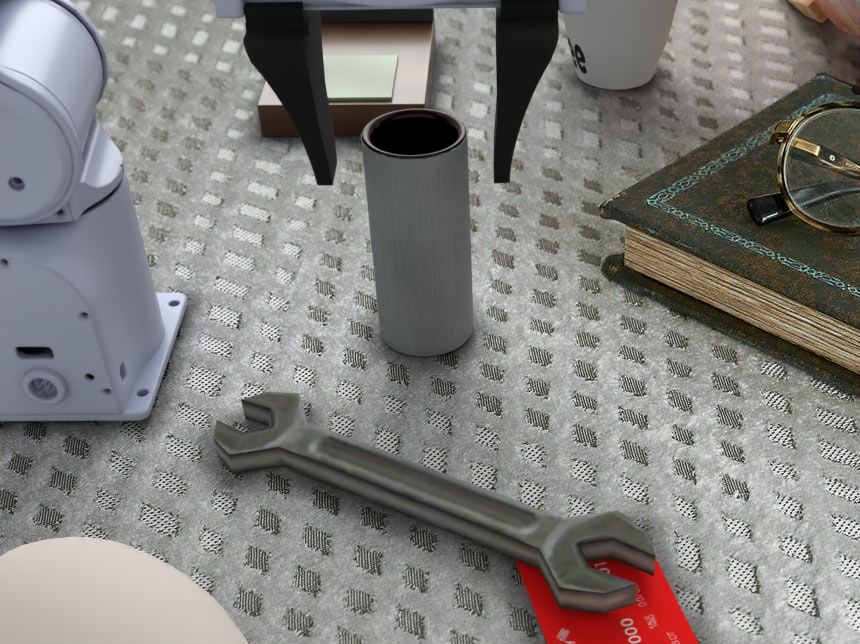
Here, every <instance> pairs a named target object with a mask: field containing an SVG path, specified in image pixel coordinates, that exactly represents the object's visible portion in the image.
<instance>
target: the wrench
mask: <svg viewBox="0 0 860 644" xmlns="http://www.w3.org/2000/svg"><path fill="white" fill-rule="evenodd" d="M240 401H241V406H242V410H243V415H244V416H243V417H244V419H245V420H247V421H250V422H253V423H255V424H260V425H262V426H265V427H262V428H257V429H252V430H247V431H243V430H241V429H238V428H236V427H233V426H232V425H230V424H227V423H226V422H223V421H220V420H218V419H216V420H215V427H214V432H213V437H212V438H213V442H214V447H215V451H216V454H217V458H218V459H219V461H221V463H222V464H223V465H224V466H225V467H226V468H227V469H228V471H230V473H231V474H232V475H233V476H234V475H240V474H241V475H242V474H246V473H253V472H254V473H255V472H261V471H266V470H272V469H273V470H274V469H278V468H284V469H288V470H290V471H293V472H296V473H298V474H300V475H303V476H305V477H308V478H310V479H313V480H315V481H318V482H320V483H323V484H324V485H328V486H330V487H332V488H335V489H337V490H339V491H340V490H341V491H342V492H345V493H347V494H351V495H352V496H356V497H358V498H360V499H363V500H365V501H368V502H371V503H373V504H375V505H378V506H380V507H383V508H385V509H387V510H391V511H393V512H395V513H398V514H400V515H402V516H406V517H408V518H410V519H413V520H415V521H418V522H421V523H423V524H425V525H428V526H430V527H433V528H436V529H438V530H441V531H444V532H446V533H448V534H451V535H453V536H456V537H458V538H461V539H463V540H465V541H468V542H471V543H474V544H475V545H478V546H481V547H483V548H485V549H488V550H491V551H494V552H496V553H498V554H501V555H504V556H505V557H508V558H511V559H513V560H515V559H516V560H518V561H521V562H523V563H526V564H528V565H531V566H533V567H536V568H538V569H540V571H541V573H542V575H543V577H544V579H545V581H546V583H547V585H548V587H549V589H550V591H551V593H552V595H553V597H554V598H555V600H556V602H557V604H558V606H559V608H561V609H569V610H577V611H585V612H593V613H601V614H605V613H608V612H611V611H614V610H617V609H621V608H624V607H627V606H630V605H633V604H635V600H636V586H637V583H634V582H631V581H628V580H625V579H622V578H620V577H617V576H614V575H611V574H608V573H605V572H602V571H599V570H596V569H593V568H591V567H590V565H589V563H588V562H592V561H598V560H603V559H609V558H612V559H615V560H617V561H619V562H622V563H624V564H626V565H629V566H631V567H633V568H636V569H638V570H640V571H642V572H645V573H647V574H649V575H652V576H654V569H655V557H656V553H655V550H654V549H655V548H654V547H653V545H652V544H653V543H652V541H651V538H650V534H649V532H648V531H647V530H646V529H645V528H642V526H640V525H638V524H637V523H636V522H634V521H633V520H631V518H629V517H627V516H626V515H625V514H624V513H622V512H621V511H619V510H611V511H604V512H603V511H602V512H596V513H589V514H583V515H582V514H581V515H575V516H568V517H567V516H566V517H561V516H559V515H557V514H554V513H551V512H549V511H546V510H542V509H541V508H538V507H534V506H532V505H530V504H527V503H524V502H521V501H518V500H516V499H514V498H512V497H508V496H505V495H503V494H500V493H498V492H495V491H492V490H490V489H487V488H485V487H482V486H480V485H477V484H473V483H471V482H469V481H466V480H463V479H461V478H458V477H456V476H453V475H451V474H447V473H444V472H442V471H439V470H436V469H434V468H431V467H429V466H426V465H423V464H421V463H418V462H416V461H413V460H411V459H408V458H405V457H402V456H400V455H397V454H394V453H391V452H389V451H386V450H383V449H381V448H378V447H376V446H373V445H370V444H367V443H365V442H362V441H360V440H356V439H354V438H353V437H349V436H346V435H344V434H341V433H339V432H336V431H333V430H331V429H328V428H325V427H322V426H319V425H317V424H315V423H312V422H309V421H308V420H307V416H306V412H305V408H304V406H303V402H302V399H301V394H300V392H299V393H298V392H297V393H295V392H281V391H265V392H262V393H258V394H254V395H250V396H248V397H245V398H241V399H240Z"/></svg>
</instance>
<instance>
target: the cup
mask: <svg viewBox="0 0 860 644" xmlns="http://www.w3.org/2000/svg"><path fill="white" fill-rule="evenodd" d="M678 3H679V0H587V9H586V13H569V14H566V13H562V14H563V21H564V28H565V35H566V36H565V37H566V40H567V43H568V47H569V50H570V54H571V59H572V61H573V65H574V69H575V72H576V76H577V77H578V78H579V79H580V81H581V82H583V83H585V84H587V85H589V86H592V87H594V88H600V89H604V90H629V89H635V88H638V87H642V86H644V85H646V84H648V83H649V82H650V81H651V80H652V78H653V76H654V75H655V72H656V69H657V67H658V65H659V62H660V59H661V58H662V56H663V52H664V50H665V47H666V45H667V43H668V40H669V37H670V33H671V29H672V25H673V22H674V18H675V14H676V10H677V6H678Z"/></svg>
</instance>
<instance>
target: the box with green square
mask: <svg viewBox="0 0 860 644" xmlns="http://www.w3.org/2000/svg"><path fill="white" fill-rule="evenodd" d="M320 18H321V33H322V48H323V60H324V72H325V83H326V90H327V96H328V101H329V107H330V112H331V118H332V123H333V129H334V134H335V137H343V136H344V137H345V136H350V137H351V136H355V137H356V136H360V137H361V134H362V131H363V129H364V128H365V126H366V125H367V124H368V123H369V122H370V121H372V120H373V119H375V118H377V117H379V116H381V115H383V114H386V113H389V112H393V111H398V110H404V109H430V106H431V104H430V103H431V95H432V86H433V85H432V84H433V75H434V66H435V57H436V46H437V43H436V42H437V41H436V40H437V39H436V22H435V21H436V20H435V9H366V10H320ZM257 112H258V119H259V126H260V131H261V136H262V137H299V135H298V133H297V131H296V129H295V127H294V125H293V123H292V121H291V119H290V117H289V115H288V114H287V112H286V110H285V109H284V107H283V105H282V104H281V102H280V100H279V99H278V97H277V96H276V94H275V93H274V92H273V90H272V89H271V87H270V86H269V84H268V83H267V82H266V80H265V81H264V84H263V87H262V91H261V93H260V96H259V99H258V102H257Z"/></svg>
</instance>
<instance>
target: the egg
mask: <svg viewBox="0 0 860 644" xmlns="http://www.w3.org/2000/svg"><path fill="white" fill-rule="evenodd" d="M0 644H250V643H249V641H248V640H247V638H246V637H245V636H244V634H243V633H242V631H241V630H240V628H239V627H238V626H237V624H236V623H235V622H234V620H233V619H232V617H230V615H229V613H228V612H227V611H226V609H225V608H224V607H223V606H222V605H221V603H220V602H218V601H217V599H215V597H214V596H213V595H212V594H210V593H209V592H208V591H207V590H206V589H204V588H203V587H202V586H200V585H199V584H198V583H197V582H195V581H194V580H193V579H192V578H190V577H189V576H187V575H186V574H185V573H183V572H182V571H180V570H178V569H177V568H175V567H173V566H172V565H170V564H169V563H168V562H165V561H163V560H161V559H160V558H157V557H155V556H154V555H150V554H148V553H146V552H145V551H142V550H140V549H137V548H135V547H133V546H131V545H129V544H125V543H122V542H118V541H114V540H110V539H106V538H105V539H104V538H96V537H88V536H87V537H86V536H65V537H57V538H46V539H41V540H38V541H33V542H30V543H25V544H22V545H18V546H17V547H15V548H13V549H11V550H9V551H7V552H5V553H3V554H2V555H1V556H0Z"/></svg>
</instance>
